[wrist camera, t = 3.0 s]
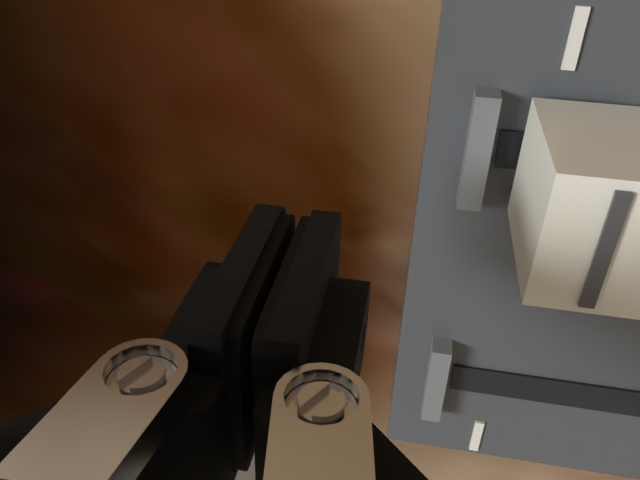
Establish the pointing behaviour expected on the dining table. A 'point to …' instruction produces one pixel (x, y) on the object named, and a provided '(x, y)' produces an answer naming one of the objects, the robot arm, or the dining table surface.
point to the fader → (578, 208)
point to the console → (511, 249)
